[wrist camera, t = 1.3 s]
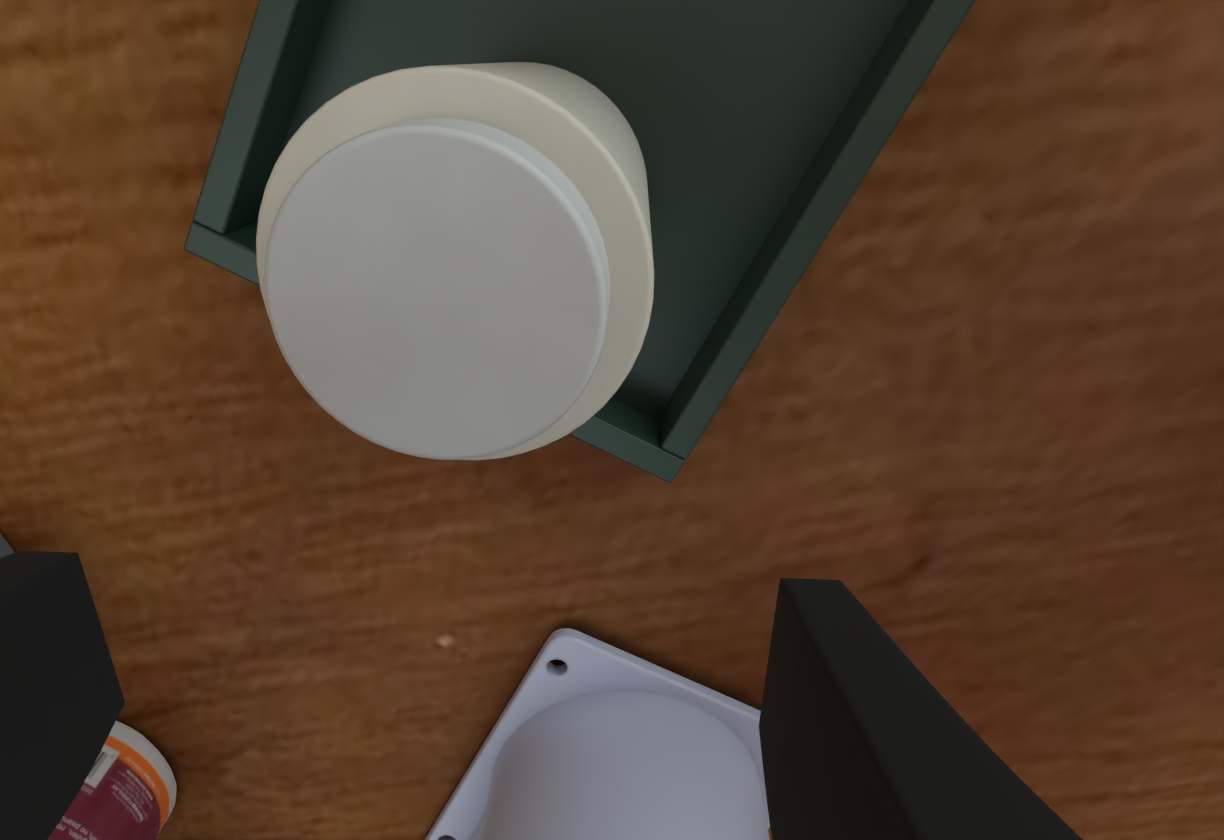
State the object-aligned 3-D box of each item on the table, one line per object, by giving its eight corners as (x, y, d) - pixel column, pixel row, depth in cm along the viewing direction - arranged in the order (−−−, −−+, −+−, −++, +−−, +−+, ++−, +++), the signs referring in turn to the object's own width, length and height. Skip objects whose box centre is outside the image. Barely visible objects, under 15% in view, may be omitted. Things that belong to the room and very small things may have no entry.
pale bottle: (581, 345, 17) (539, 562, 10) (374, 242, 16) (159, 392, 9) (691, 139, 15) (740, 213, 8) (466, 12, 15) (293, -32, 7)
